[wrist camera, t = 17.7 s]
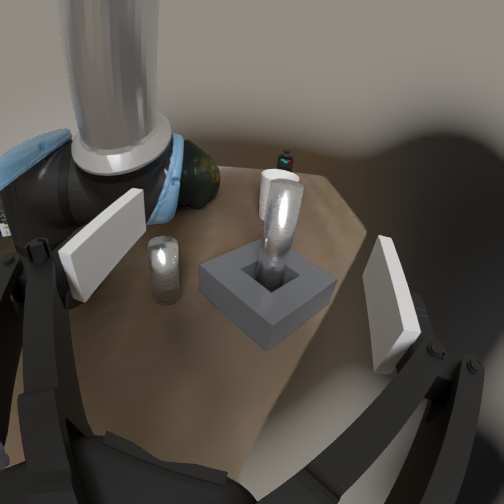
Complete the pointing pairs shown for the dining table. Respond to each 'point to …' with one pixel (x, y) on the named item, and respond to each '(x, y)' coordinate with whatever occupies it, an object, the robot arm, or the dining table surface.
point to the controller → (285, 161)
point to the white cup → (265, 183)
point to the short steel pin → (164, 269)
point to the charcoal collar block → (265, 293)
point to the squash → (197, 177)
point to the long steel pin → (278, 232)
